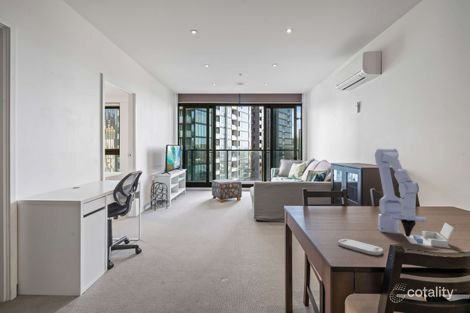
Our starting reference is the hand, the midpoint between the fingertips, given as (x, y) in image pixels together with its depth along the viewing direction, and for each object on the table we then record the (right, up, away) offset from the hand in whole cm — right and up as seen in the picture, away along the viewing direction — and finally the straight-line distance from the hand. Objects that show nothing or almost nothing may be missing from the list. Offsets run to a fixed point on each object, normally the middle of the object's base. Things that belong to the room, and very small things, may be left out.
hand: (407, 235), depth 128 cm
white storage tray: (+8, -2, -1) cm, 8 cm away
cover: (+14, +4, -5) cm, 16 cm away
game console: (-28, -3, -11) cm, 30 cm away
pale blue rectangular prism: (+4, -2, -1) cm, 5 cm away
